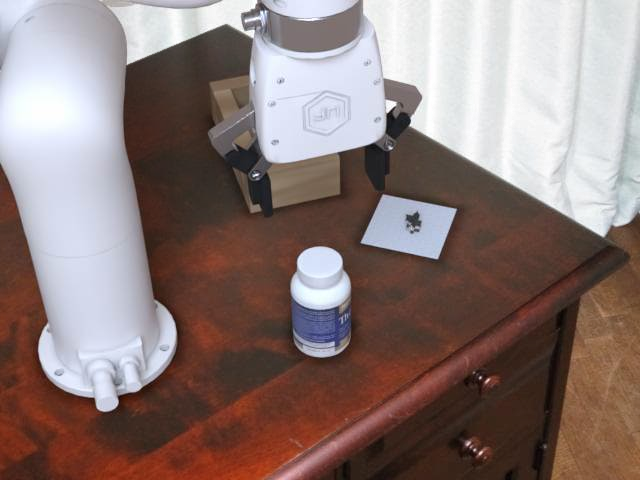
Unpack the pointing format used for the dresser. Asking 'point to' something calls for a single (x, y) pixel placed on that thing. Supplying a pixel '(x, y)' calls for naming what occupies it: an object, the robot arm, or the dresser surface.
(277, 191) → the socket block
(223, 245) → the dresser surface
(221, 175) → the dresser surface
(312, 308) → the pill bottle
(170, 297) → the dresser surface
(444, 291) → the dresser surface
